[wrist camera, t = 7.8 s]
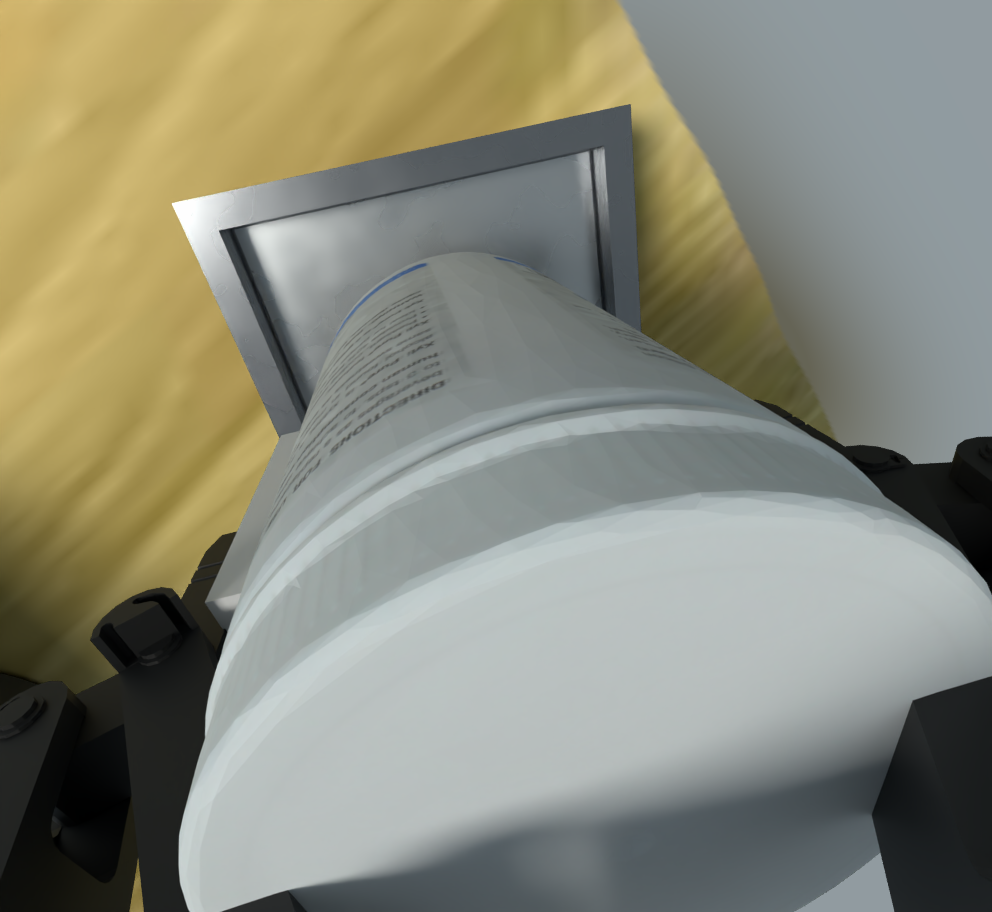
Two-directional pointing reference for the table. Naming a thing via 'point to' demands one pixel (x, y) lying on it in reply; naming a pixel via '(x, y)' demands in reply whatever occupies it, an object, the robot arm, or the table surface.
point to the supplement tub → (560, 629)
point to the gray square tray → (414, 236)
